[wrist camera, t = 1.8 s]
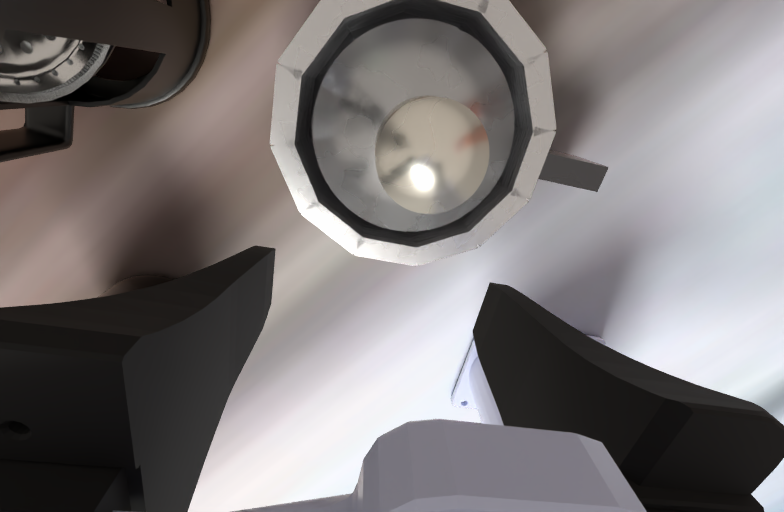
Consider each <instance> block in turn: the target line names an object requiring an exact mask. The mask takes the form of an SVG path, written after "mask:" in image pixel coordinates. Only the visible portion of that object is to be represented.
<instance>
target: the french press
mask: <svg viewBox="0 0 784 512" xmlns="http://www.w3.org/2000/svg"><path fill="white" fill-rule="evenodd" d="M209 33H210V13H209V3H208V0H167V5H166V4H163V3H161V2H158V1H156V0H0V110H3V109H18V108H25V124H24V127H22V128H19V129H11V130H3V131H0V162H4V161H9V160H14V159H19V158H24V157H28V156H33V155H38V154H43V153H48V152H53V151H57V150H62V149H66V148H69V147H70V146H71V145H72V141H73V124H74V106H84V107H98V106H110V107H117V108H129V109H135V108H143V107H151V106H155V105H158V104H160V103H163V102H166V101H169V100H170V99H172V98H173V97H175V96H176V95H178V94H179V93H181V92H182V91H183V90H184V89H185V88H186V87H187V86H188V85H189V84H190V83H191V81H192V80H193V79H194V78H195V76H196V75H197V73H198V71H199V69H200V67H201V65H202V63H203V61H204V58H205V54H206V51H207V47H208V44H209ZM115 46H119V47H126V48H132V49H139V50H145V51H152V52H158V53H160V56H159V58H158V60H157V62H156V64H155V66H154V68H153V69H152V71H151V72H150V73H149V74H147V75H145V76H142V77H139V78H137V79H133V80H125V81H118V80H110V79H106V78H103V77H99V76H96V75H95V74H96V73H97V72H98V71H99V70H100V69H101V68H102V67H103V65H104V64H105V63H106V62H107V61H108V59H109V57H110V55H111V53H112V52H113V50H114V48H115Z"/></svg>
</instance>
